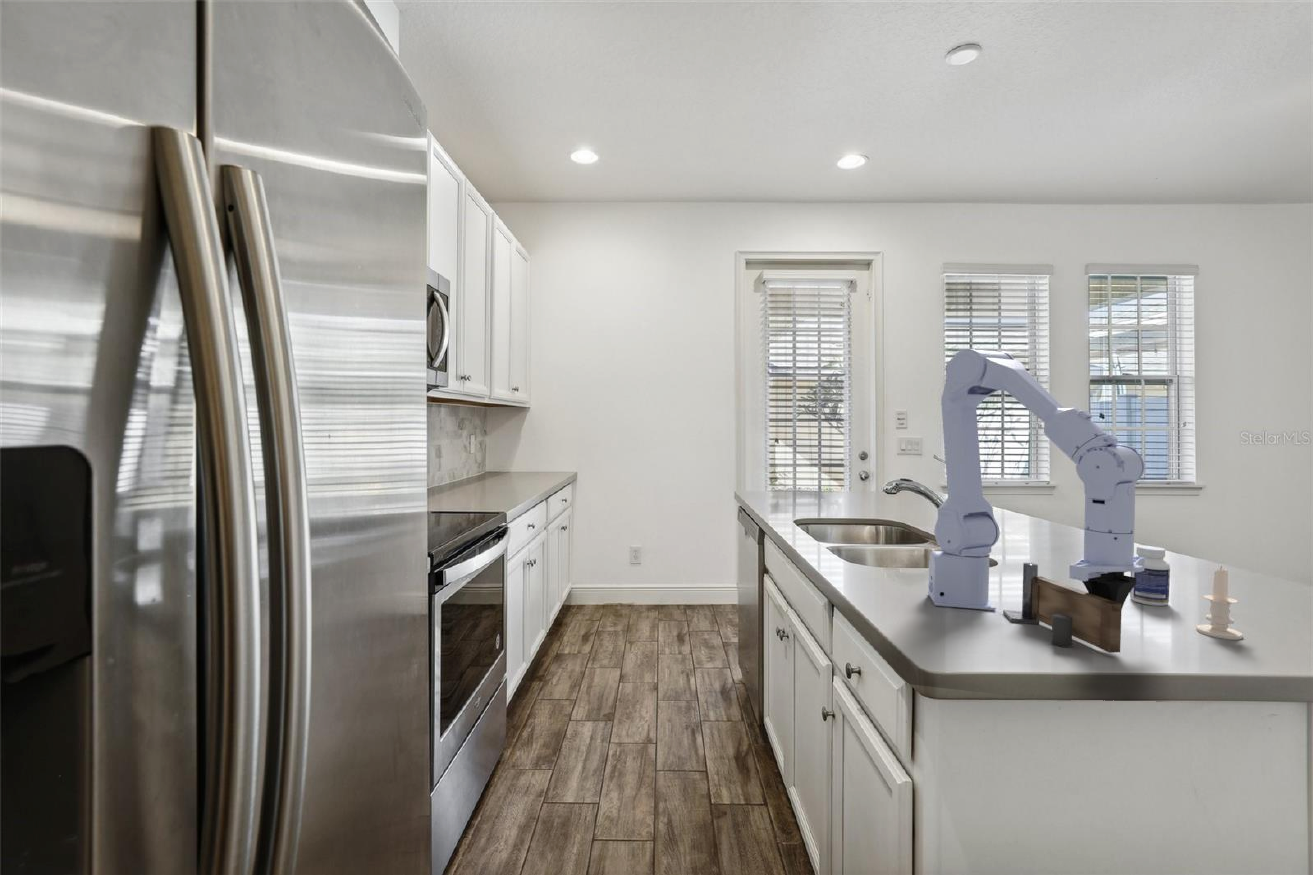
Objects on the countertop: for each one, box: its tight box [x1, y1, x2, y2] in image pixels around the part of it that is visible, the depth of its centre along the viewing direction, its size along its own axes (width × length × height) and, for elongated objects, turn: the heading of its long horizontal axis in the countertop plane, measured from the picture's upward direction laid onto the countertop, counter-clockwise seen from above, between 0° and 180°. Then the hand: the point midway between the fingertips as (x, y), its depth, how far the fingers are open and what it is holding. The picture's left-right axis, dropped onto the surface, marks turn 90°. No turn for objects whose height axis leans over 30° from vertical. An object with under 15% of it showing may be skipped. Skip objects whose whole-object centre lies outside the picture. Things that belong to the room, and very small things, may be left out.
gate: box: [1032, 575, 1123, 653], centre depth 90 cm, size 15×2×7 cm, turn 7°
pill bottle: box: [1129, 545, 1171, 607], centre depth 109 cm, size 5×5×10 cm
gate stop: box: [1051, 614, 1073, 648], centre depth 88 cm, size 2×2×4 cm
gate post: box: [1002, 562, 1040, 625], centre depth 99 cm, size 4×4×9 cm
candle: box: [1196, 565, 1244, 641], centre depth 93 cm, size 5×5×10 cm
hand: (1106, 625), depth 87 cm, fingers closed
